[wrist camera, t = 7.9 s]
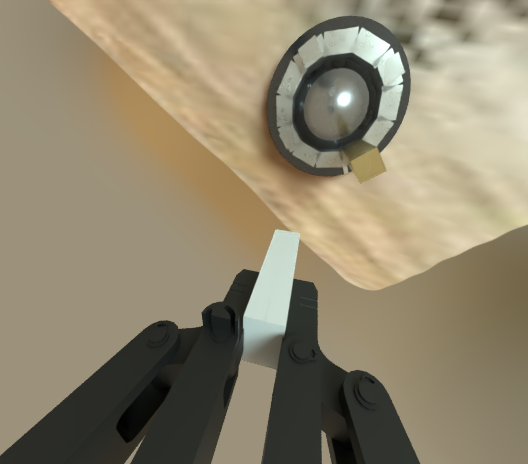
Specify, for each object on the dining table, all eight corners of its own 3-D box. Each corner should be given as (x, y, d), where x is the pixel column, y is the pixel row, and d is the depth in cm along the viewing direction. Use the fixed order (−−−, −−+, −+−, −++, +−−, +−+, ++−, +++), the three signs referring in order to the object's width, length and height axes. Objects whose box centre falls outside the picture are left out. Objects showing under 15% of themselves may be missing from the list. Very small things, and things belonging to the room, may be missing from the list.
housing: (258, 49, 28) (242, 31, 22) (412, -3, 23) (445, -45, 17) (279, 180, 36) (272, 192, 30) (398, 163, 31) (417, 174, 25)
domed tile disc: (309, 181, 33) (306, 209, 23) (261, 91, 28) (231, 77, 18) (409, 127, 27) (463, 133, 17) (366, 3, 22) (405, -87, 12)
